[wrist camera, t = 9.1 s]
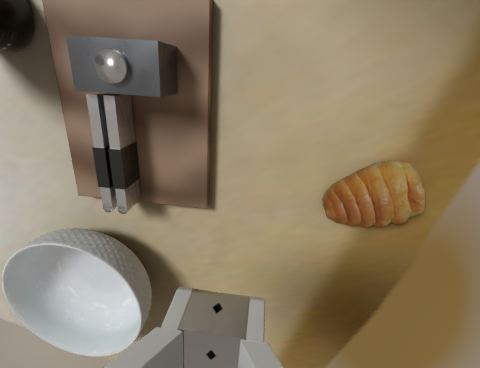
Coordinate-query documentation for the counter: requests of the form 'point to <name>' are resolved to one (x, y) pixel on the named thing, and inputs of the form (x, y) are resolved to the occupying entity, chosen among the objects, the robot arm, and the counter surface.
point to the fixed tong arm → (101, 149)
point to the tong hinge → (123, 66)
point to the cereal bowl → (79, 291)
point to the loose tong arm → (122, 150)
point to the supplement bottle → (15, 25)
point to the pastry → (376, 195)
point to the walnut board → (145, 107)
